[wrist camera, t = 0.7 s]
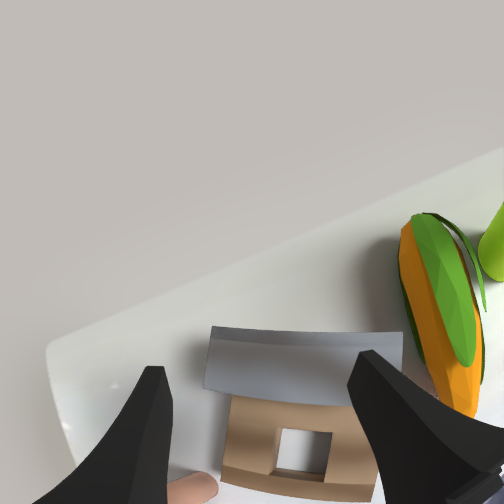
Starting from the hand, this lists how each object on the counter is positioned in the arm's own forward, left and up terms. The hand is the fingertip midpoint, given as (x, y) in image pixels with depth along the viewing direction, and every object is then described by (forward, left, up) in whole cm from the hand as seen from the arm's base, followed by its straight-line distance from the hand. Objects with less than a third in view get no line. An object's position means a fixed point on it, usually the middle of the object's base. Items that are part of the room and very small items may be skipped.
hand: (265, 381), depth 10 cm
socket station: (-5, +1, -17) cm, 18 cm away
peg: (-14, +11, -17) cm, 25 cm away
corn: (+5, -12, -18) cm, 22 cm away
